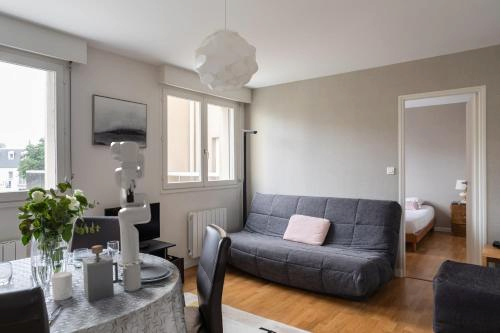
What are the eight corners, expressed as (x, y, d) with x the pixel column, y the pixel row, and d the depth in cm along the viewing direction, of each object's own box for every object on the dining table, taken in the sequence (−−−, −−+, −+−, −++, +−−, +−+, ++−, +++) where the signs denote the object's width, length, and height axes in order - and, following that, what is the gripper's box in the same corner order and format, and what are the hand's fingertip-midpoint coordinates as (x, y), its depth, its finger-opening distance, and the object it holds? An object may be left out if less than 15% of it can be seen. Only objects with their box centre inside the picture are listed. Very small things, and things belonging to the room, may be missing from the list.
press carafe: (83, 294, 146) (82, 258, 146) (115, 287, 154) (114, 252, 153) (88, 302, 137) (86, 264, 137) (121, 294, 145) (120, 258, 145)
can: (144, 288, 151) (143, 262, 151) (128, 293, 146) (127, 266, 146) (136, 284, 156) (135, 259, 156) (120, 289, 151) (119, 263, 151)
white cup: (58, 302, 138) (57, 278, 138) (48, 299, 142) (47, 275, 142) (76, 295, 145) (75, 273, 145) (66, 292, 149) (65, 270, 149)
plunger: (91, 279, 145) (90, 246, 145) (102, 277, 148) (101, 244, 147) (93, 282, 141) (92, 248, 141) (104, 280, 144) (103, 246, 144)
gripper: (117, 166, 171) (118, 202, 172) (125, 166, 159) (126, 204, 160) (132, 165, 176) (133, 200, 176) (141, 166, 163) (142, 203, 164)
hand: (130, 202), depth 168 cm, fingers closed
